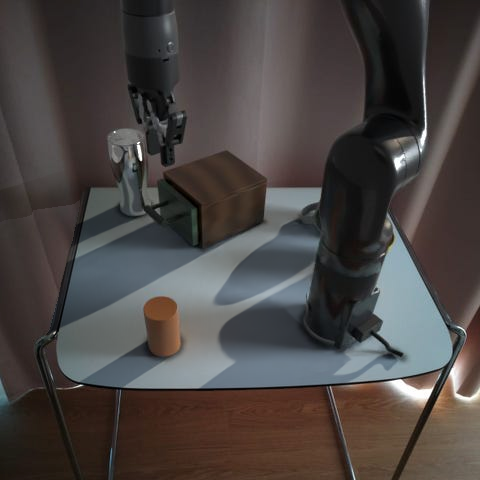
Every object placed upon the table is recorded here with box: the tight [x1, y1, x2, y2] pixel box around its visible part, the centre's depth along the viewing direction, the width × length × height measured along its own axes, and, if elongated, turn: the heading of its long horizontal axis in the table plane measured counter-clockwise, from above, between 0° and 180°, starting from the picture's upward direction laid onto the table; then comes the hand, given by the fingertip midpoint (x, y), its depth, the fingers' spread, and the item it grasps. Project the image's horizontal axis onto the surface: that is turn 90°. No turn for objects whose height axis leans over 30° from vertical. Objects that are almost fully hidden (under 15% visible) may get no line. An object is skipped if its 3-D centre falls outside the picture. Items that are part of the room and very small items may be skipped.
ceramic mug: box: [299, 200, 322, 233], centre depth 95 cm, size 11×8×8 cm
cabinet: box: [162, 149, 268, 249], centre depth 94 cm, size 15×13×10 cm
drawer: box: [144, 178, 200, 247], centre depth 92 cm, size 18×11×8 cm, turn 127°
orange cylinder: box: [142, 295, 181, 358], centre depth 72 cm, size 5×5×8 cm
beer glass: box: [106, 127, 152, 217], centre depth 94 cm, size 7×7×15 cm
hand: (161, 158), depth 81 cm, fingers open, 3 cm apart
